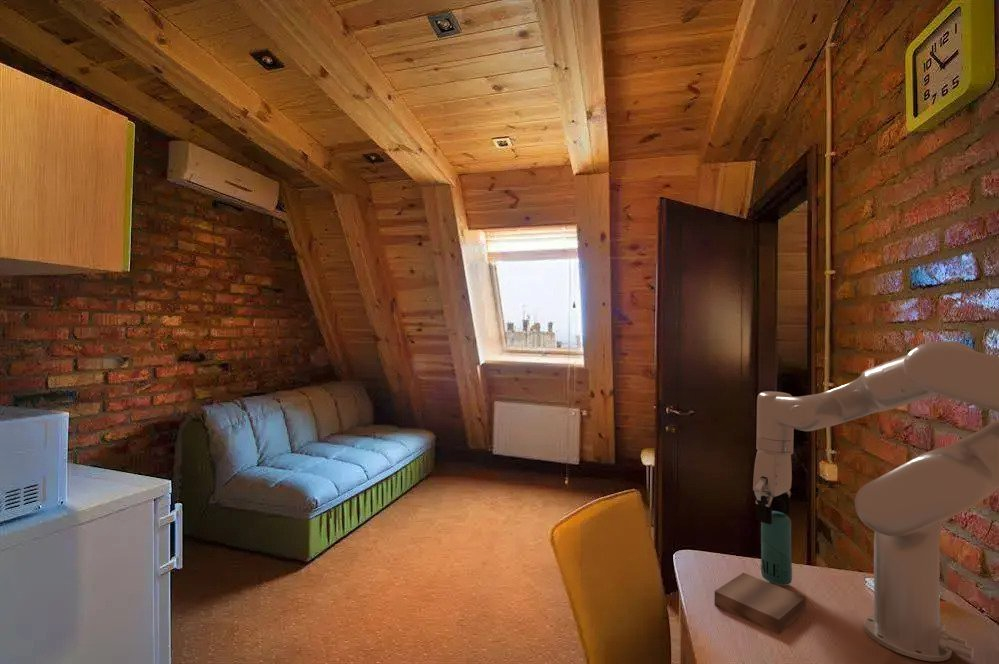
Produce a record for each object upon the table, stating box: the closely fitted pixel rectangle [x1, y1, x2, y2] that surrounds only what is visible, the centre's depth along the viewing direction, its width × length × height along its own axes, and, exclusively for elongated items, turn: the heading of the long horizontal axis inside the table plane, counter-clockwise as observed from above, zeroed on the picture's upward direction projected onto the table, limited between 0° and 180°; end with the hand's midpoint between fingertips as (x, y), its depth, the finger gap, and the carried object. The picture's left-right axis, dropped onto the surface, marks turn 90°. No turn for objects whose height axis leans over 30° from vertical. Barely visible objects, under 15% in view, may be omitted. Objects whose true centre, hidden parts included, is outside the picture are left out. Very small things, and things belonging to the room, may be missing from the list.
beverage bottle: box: [759, 497, 793, 586], centre depth 111 cm, size 6×7×20 cm
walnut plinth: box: [714, 572, 807, 636], centre depth 101 cm, size 13×13×3 cm
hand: (773, 517), depth 111 cm, fingers open, 9 cm apart
